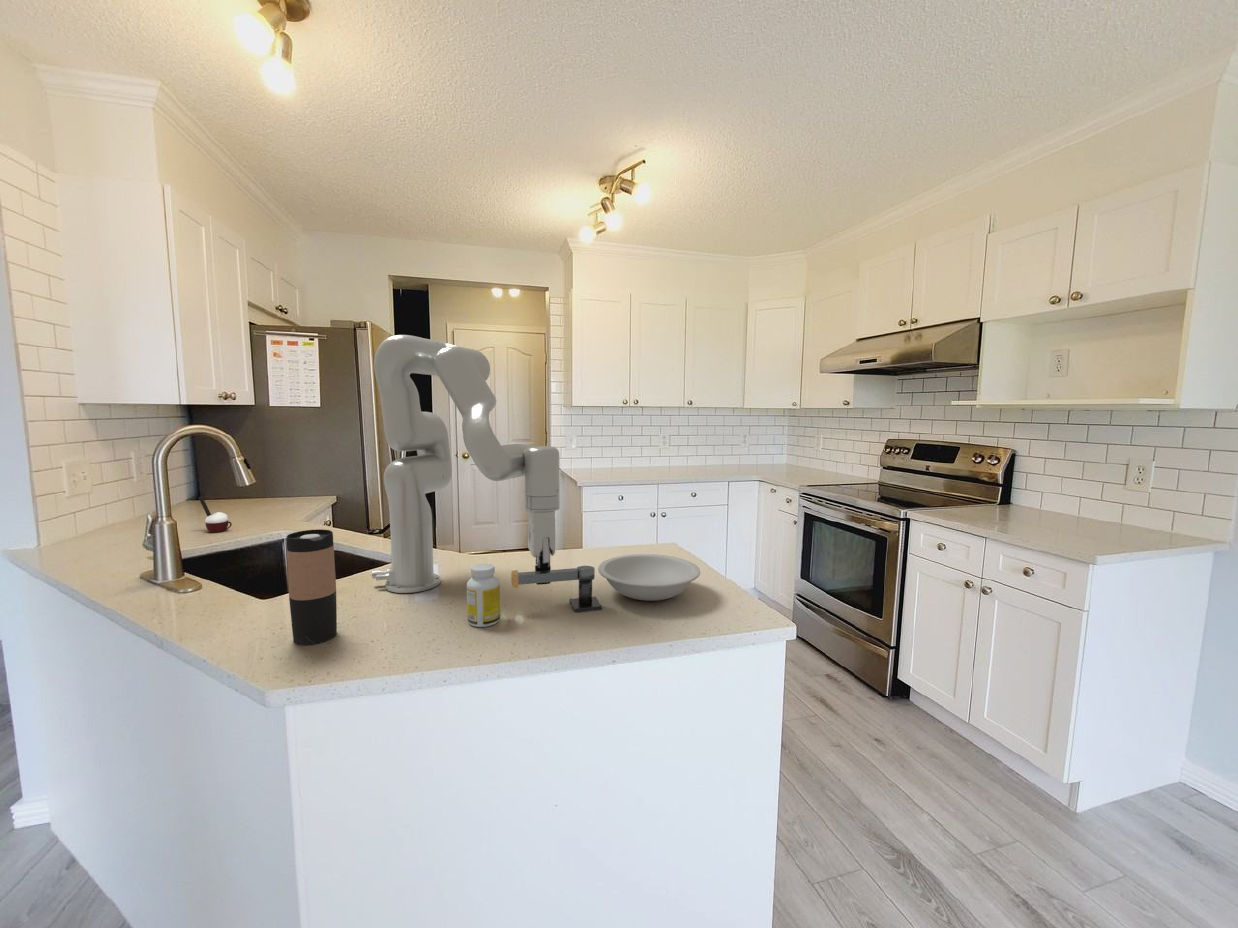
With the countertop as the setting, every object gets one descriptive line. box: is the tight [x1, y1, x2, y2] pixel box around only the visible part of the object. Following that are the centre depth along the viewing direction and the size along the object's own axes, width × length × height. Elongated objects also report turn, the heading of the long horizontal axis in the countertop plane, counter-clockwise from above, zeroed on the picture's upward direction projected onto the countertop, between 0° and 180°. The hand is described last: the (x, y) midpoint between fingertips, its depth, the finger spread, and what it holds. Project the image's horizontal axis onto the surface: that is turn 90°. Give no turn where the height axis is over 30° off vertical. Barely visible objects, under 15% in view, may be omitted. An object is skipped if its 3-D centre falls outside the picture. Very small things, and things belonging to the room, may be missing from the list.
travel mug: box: [285, 528, 338, 646], centre depth 97 cm, size 8×8×20 cm
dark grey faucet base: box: [569, 580, 603, 613], centre depth 114 cm, size 6×6×6 cm
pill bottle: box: [466, 563, 501, 628], centre depth 105 cm, size 6×6×12 cm
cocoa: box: [198, 496, 233, 534], centre depth 177 cm, size 10×6×12 cm, turn 73°
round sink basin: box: [597, 553, 701, 602], centre depth 122 cm, size 24×24×7 cm
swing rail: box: [510, 565, 596, 589], centre depth 112 cm, size 18×4×3 cm, turn 106°
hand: (542, 582), depth 115 cm, fingers closed
